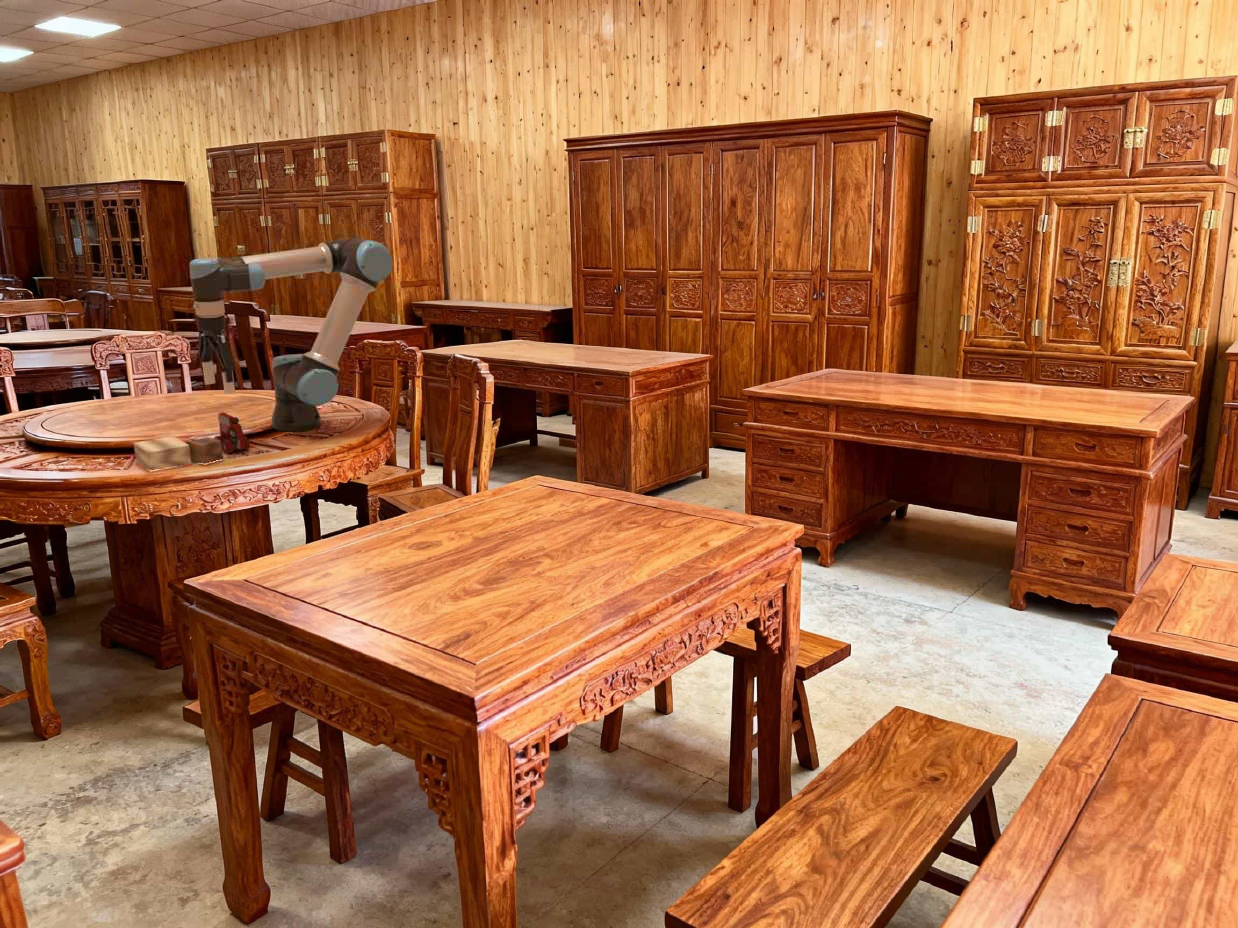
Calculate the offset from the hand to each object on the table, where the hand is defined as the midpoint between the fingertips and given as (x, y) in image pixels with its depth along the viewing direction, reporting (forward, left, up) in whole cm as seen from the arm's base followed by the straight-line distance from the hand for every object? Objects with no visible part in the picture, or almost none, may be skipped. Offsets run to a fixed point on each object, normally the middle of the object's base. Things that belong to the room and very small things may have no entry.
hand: (219, 388), depth 265 cm
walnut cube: (+8, +6, -19) cm, 21 cm away
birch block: (+18, +1, -19) cm, 26 cm away
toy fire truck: (-2, 0, -19) cm, 19 cm away
